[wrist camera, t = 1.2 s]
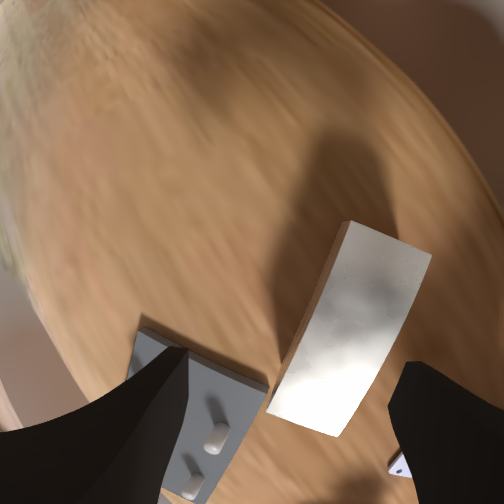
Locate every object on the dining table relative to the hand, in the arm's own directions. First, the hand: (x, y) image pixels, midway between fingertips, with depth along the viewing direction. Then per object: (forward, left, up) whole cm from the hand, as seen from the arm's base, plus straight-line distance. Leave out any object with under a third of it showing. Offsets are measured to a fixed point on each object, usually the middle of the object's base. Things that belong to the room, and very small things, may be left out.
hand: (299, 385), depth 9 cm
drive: (-2, -1, -10) cm, 11 cm away
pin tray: (+5, +14, -10) cm, 18 cm away
